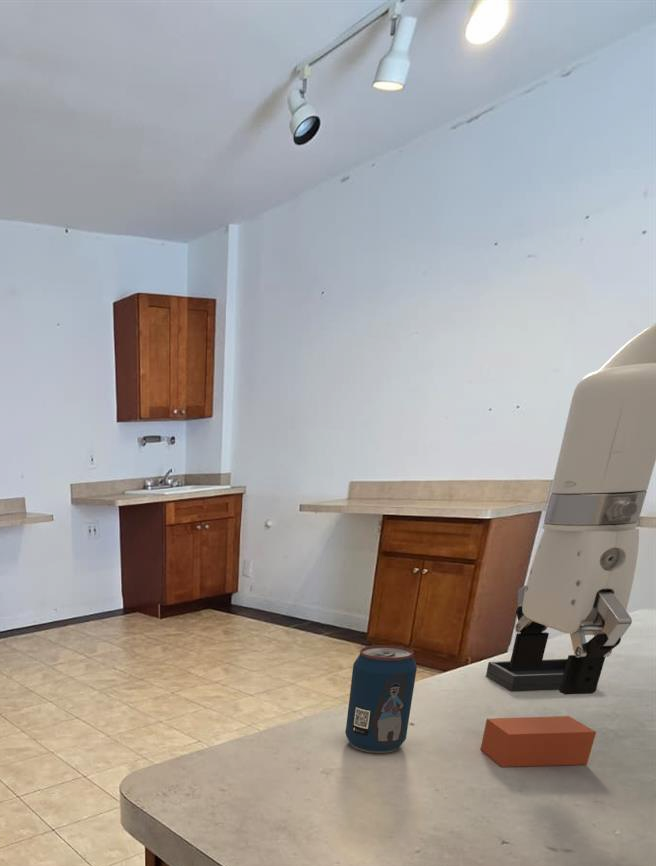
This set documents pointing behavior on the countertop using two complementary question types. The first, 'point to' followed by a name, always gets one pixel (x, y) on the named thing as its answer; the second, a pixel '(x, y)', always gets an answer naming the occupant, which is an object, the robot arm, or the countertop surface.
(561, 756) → the red brick
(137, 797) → the countertop surface
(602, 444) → the robot arm
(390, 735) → the soda can
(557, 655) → the countertop surface
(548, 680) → the black rectangular tray
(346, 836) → the countertop surface
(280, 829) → the countertop surface
